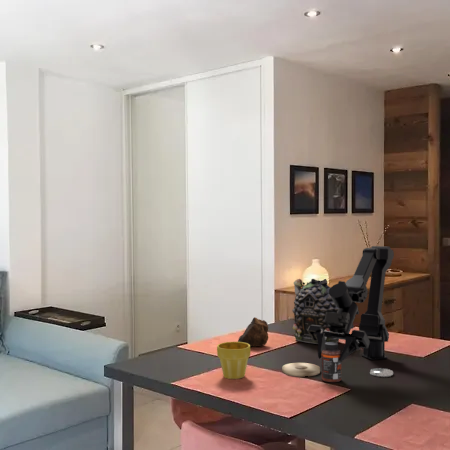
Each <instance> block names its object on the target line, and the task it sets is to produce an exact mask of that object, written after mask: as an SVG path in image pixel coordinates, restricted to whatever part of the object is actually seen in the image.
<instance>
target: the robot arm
mask: <svg viewBox="0 0 450 450" xmlns="http://www.w3.org/2000/svg"><path fill="white" fill-rule="evenodd" d="M394 253H395V251H394V250H393V249H391V247H390V246H384V245H373V246H371V247H365V248H363V250H362V255H361V257H360V260H359V262H358V265H357V266H356V269H355V272H353V273H354V274H353V276H352V277H350V278H349V279H347V280H346V281H344V280H343V281H341V280H339V281H338V282H337V283H335V284H334V285H332V286H330V287H331V288H330V289H329V294H330V296H331V298H332V300H333V302H334V304H335V306H336V307H337V308H339V309H338V311H337V313H332V312H326V315H325V320H324V322H325V323H327V324H328V328H329V329H330V331H325V330H324V329H323V327H322V326H319V325H310V326H309V328H308V330H307V331H308V333H309V334H310V336H311V338H312V340H314V341H317V342H318V344H317V358H318V359H322V351H323V350H324V349H325V343H326V338H327V337H329V338H334V339H339V340H343V341H345V342H344V345H343V348H342V349H341V355H340V358H339V361H340V362H341V363H342V362H344V361H345V360H346V359H347V357H349V356H350V355H351V354H353V353H355V352H356V351H357V350H360V349H363V354H361V356H362V357H364V358H365V359H366V358H367V359H369V360H371V361H375V360H383V359H384V360H385V359H388V356H386V355H385V353H386V352H385V351H386V349H385V347H386V345H385V342H387V343H388V342H389V337H390V332H389V331H388V329H387V326H386V319H385V317H384V316H383V313H382V308H383V298H384V290H385V281H386V272H387V271H389V270H388V269H390V267H391V266H392V262H393V259H394V257H395V256H394V255H395V254H394ZM369 279H370V283H369V289H368V287H367V285H368V284H367V283H368V281H369ZM367 297H368V300H367V309H366V311H365V312H364V313H361V315H360V322H359V324H358V330H357V329H354V328H355V326H354V321H355V318H356V315H359V314H360V311H359V306H358V305H357V303H360V304H361V303H362V304H363V303H364V302H365V301H366V299H367ZM351 329H352V330H351Z"/></svg>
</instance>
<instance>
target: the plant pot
mask: <svg viewBox="0 0 450 450" xmlns="http://www.w3.org/2000/svg"><path fill="white" fill-rule="evenodd" d="M216 351H217V352H216V353H217V358H219V361H220V366H221V371H222V376H223V378H225V379H229V380H240V379H243V378H244V377H245V376H246V370H247V366H248V361H249V358H250V356H251V346H250V345H249V344H248V343H244V342H238V341H226V342H225V341H224V342H221V343H219V344H217V345H216Z"/></svg>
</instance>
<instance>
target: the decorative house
mask: <svg viewBox="0 0 450 450" xmlns="http://www.w3.org/2000/svg"><path fill="white" fill-rule="evenodd" d="M293 285H294V294H295V296H294V298H295V299H294V301H293V304H294V307H293V309H292V310H291V312H292V313H293V316H294V317H293V318H294V320H293V326H292V327H291V328H292V329H293V330H294V333H293V336H294V338H295V340H296V341H298V342H303V343H308V344H316V345H318V342H317V341H314V340H312V338H311V336H310V334H309V333H308V331H307V330H308V328H309V326H310V325H319V326H322V327H323V329H324V330H325V331H330V329H329V328H328V324H327V323H325V322H324V320H325V315H326V312H332V313H337V311H338V309H339V308H337V307H336V306H335V304H334V302H333V300H332V298H331V296H330V294H329V289H330V288H331V287H332V286H329V285H328V280H327V278H324V279H323V280H319V279H315V278H311V280H310V281H309V282H306V283H305V282H304V281H303V280H302V279H301V278H296V279H295V280H294V281H293ZM339 341H340V339H334V338H329V337H327V338H326V342H336V343H338V342H339Z"/></svg>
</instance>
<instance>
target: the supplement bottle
mask: <svg viewBox="0 0 450 450" xmlns="http://www.w3.org/2000/svg"><path fill="white" fill-rule="evenodd" d="M341 352H342V350H340V349H339V343H338V342H337V343H336V342H326V343H325V349H324V350H323V351H322V357H321V380H322V381H324V382H327V383H339V382H340V381H342V378H343V377H342V375H343V374H342V370H343V369H342V362H340V361H339V358H340V355H341Z"/></svg>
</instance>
